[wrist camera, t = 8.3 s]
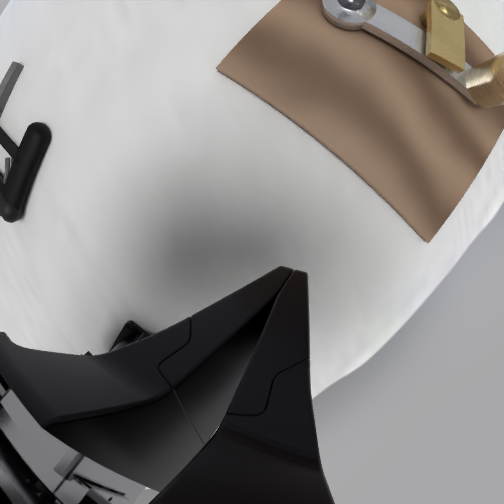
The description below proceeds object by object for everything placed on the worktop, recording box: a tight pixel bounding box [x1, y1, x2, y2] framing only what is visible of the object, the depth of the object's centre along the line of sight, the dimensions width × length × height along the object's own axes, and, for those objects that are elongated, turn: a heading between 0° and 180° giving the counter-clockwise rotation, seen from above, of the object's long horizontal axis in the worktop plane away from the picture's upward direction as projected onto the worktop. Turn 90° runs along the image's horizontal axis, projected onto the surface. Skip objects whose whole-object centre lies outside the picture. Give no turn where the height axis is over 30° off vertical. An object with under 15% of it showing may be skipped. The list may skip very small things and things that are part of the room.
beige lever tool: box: [321, 0, 504, 108], centre depth 10 cm, size 16×4×11 cm, turn 65°
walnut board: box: [216, 0, 504, 243], centre depth 17 cm, size 20×21×1 cm
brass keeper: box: [420, 0, 465, 74], centre depth 13 cm, size 7×3×3 cm, turn 167°
